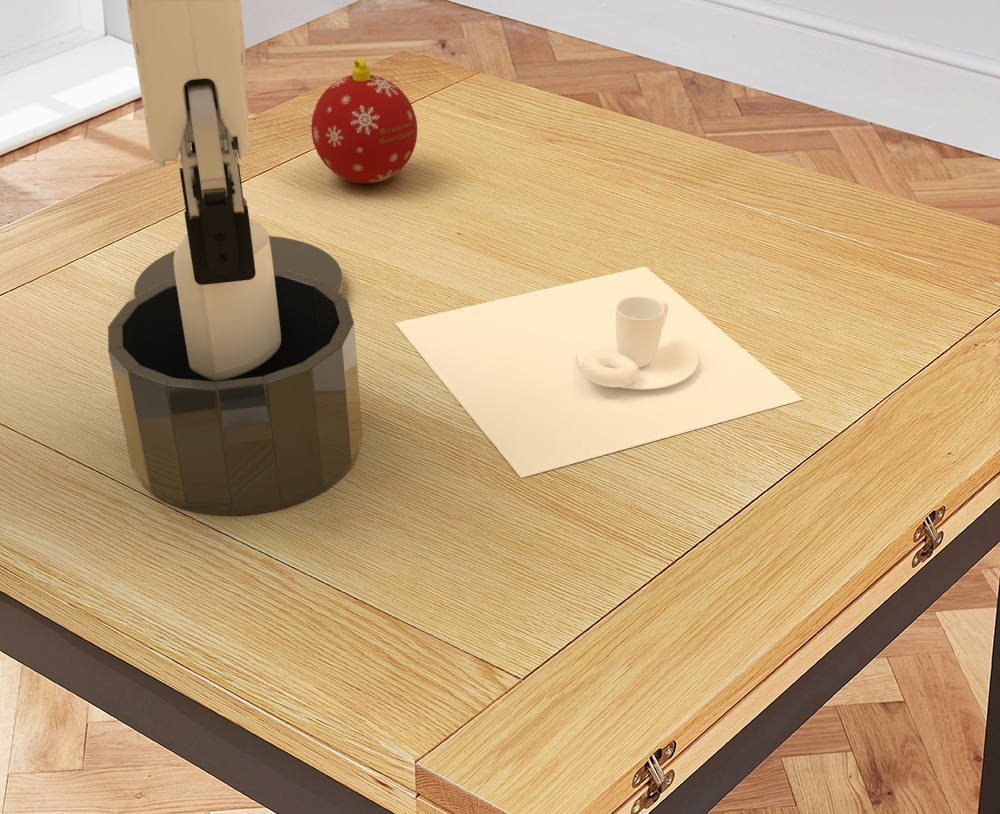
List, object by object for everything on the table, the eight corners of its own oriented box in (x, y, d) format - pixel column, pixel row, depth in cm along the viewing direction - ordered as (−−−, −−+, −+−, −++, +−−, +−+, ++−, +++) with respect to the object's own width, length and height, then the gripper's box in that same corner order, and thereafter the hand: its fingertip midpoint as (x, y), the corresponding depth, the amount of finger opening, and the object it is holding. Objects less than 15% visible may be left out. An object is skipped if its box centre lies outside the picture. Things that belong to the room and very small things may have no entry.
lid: (138, 360, 89) (120, 262, 85) (134, 260, 101) (118, 169, 96) (357, 334, 92) (350, 238, 88) (329, 240, 103) (322, 151, 99)
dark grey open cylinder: (135, 561, 73) (108, 431, 68) (130, 378, 88) (107, 260, 83) (384, 525, 75) (376, 397, 70) (338, 354, 90) (329, 237, 85)
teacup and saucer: (602, 409, 85) (605, 353, 82) (545, 350, 90) (546, 296, 88) (721, 378, 88) (727, 323, 85) (658, 322, 93) (662, 269, 91)
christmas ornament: (340, 209, 108) (331, 86, 102) (300, 170, 114) (288, 52, 108) (436, 187, 111) (433, 67, 105) (392, 151, 117) (386, 35, 111)
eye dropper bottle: (294, 368, 77) (273, 169, 70) (197, 388, 75) (164, 187, 68) (274, 332, 80) (252, 139, 73) (180, 351, 79) (148, 155, 71)
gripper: (91, -135, 69) (147, 198, 80) (89, -42, 56) (157, 341, 67) (240, -142, 70) (275, 186, 81) (272, -54, 57) (309, 324, 68)
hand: (221, 253), depth 74 cm, fingers closed on eye dropper bottle, 4 cm apart
